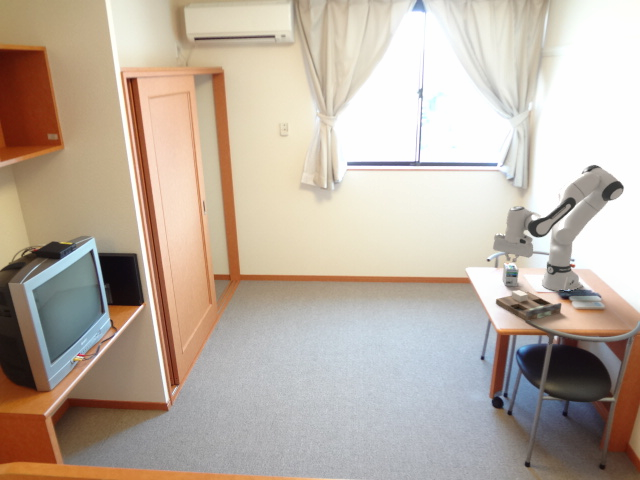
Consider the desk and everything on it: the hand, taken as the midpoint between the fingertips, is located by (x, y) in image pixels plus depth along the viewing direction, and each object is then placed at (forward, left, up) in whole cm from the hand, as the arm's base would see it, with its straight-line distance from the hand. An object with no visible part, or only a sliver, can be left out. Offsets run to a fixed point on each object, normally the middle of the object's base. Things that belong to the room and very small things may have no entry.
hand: (511, 261), depth 254 cm
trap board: (0, +15, -21) cm, 26 cm away
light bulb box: (-15, -14, -21) cm, 30 cm away
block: (0, +9, -19) cm, 20 cm away
